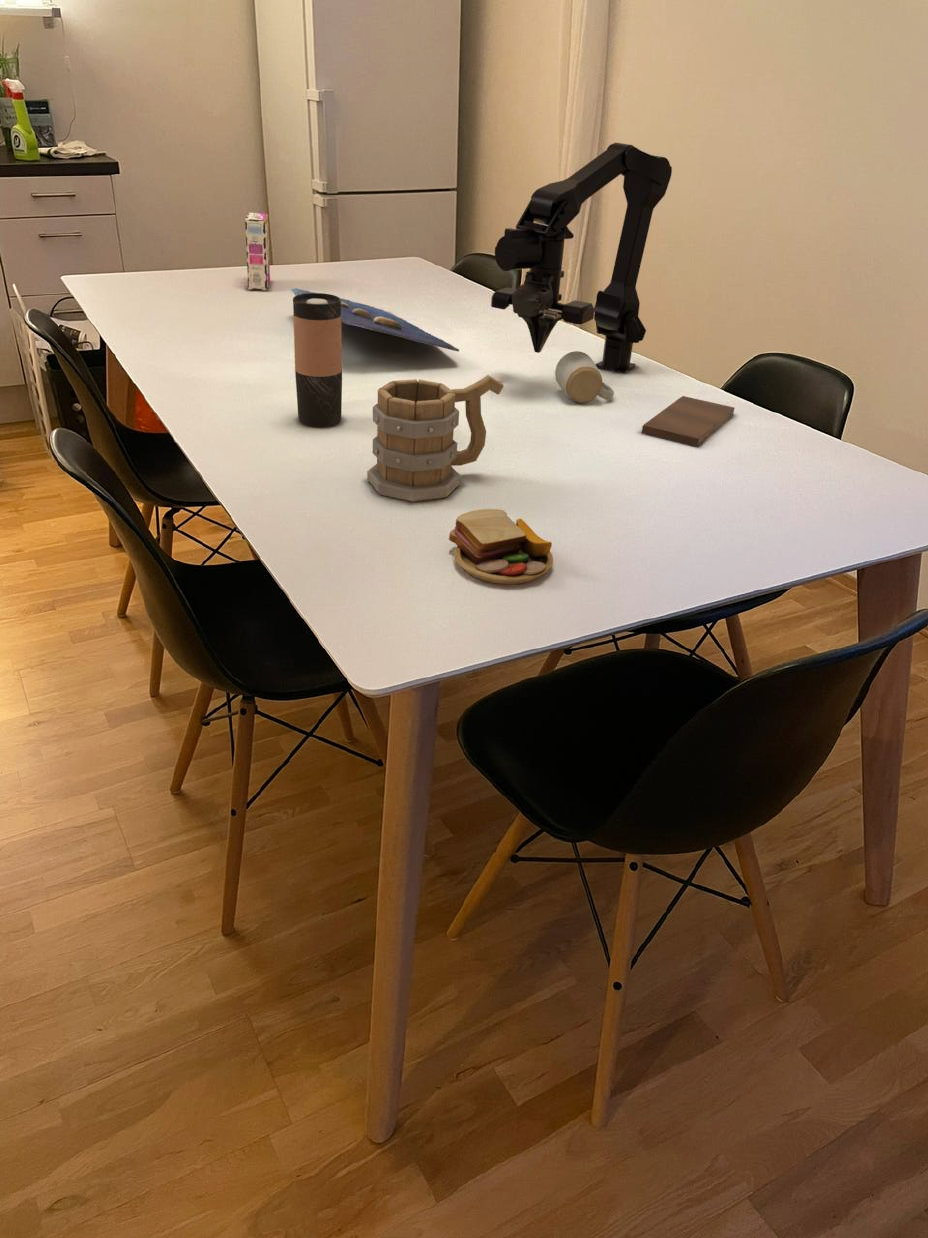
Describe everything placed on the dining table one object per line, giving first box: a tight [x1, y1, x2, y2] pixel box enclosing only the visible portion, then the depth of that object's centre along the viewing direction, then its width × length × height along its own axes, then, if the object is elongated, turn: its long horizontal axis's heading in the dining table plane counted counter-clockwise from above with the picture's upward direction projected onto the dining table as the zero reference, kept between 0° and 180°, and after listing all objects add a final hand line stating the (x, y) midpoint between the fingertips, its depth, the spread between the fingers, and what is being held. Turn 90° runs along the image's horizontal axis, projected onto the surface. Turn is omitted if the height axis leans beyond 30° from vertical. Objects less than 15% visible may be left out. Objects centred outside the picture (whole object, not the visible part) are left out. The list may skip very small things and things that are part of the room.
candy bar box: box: [244, 212, 271, 292], centre depth 235 cm, size 11×5×16 cm, turn 6°
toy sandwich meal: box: [448, 508, 554, 585], centre depth 120 cm, size 12×14×5 cm
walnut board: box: [641, 395, 735, 448], centre depth 169 cm, size 20×10×2 cm, turn 149°
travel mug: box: [292, 292, 343, 429], centre depth 155 cm, size 8×8×20 cm
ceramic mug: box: [554, 350, 615, 404], centre depth 176 cm, size 11×8×8 cm
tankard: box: [366, 375, 505, 503], centre depth 138 cm, size 20×13×15 cm, turn 114°
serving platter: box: [290, 287, 460, 352], centre depth 202 cm, size 45×27×12 cm, turn 25°
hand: (537, 352), depth 180 cm, fingers closed
